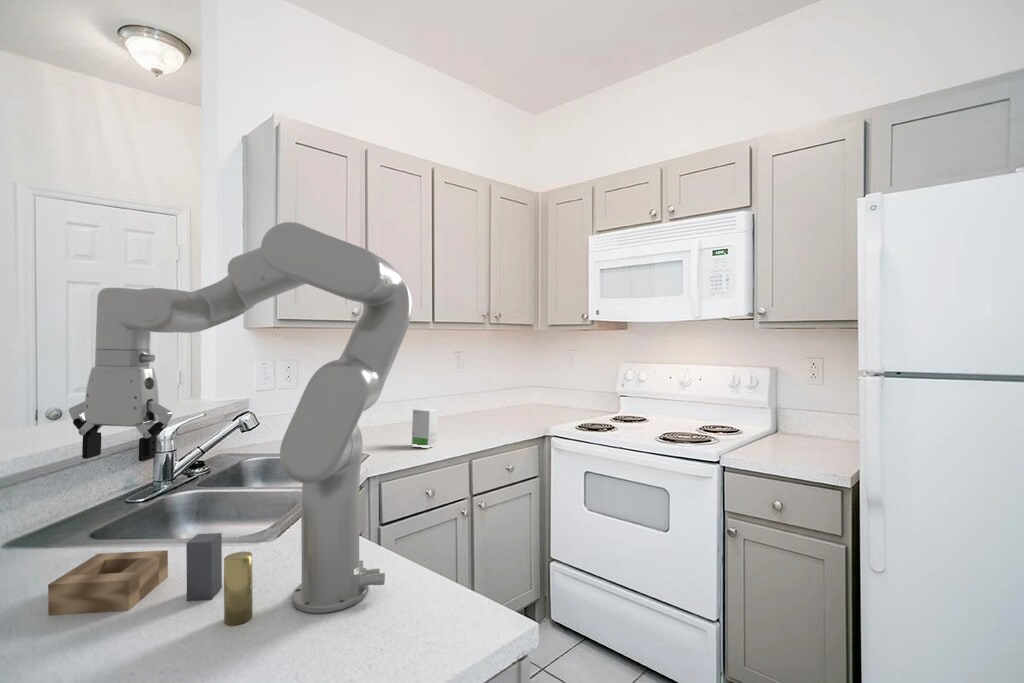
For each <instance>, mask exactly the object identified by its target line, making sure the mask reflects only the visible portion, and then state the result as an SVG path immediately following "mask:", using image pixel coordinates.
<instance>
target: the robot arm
mask: <svg viewBox="0 0 1024 683" xmlns="http://www.w3.org/2000/svg"><path fill="white" fill-rule="evenodd" d="M260 244H261V245H260V247H258V248H255V249H253V250H249V251H247V252H244V253H242V254H239V255H237V256H234V257H232V258H231V259H230V260H229V262H228V264H227V275H226V276H225V277H224V278H222V279H221V280H219V281H217V282H215V283H212V284H210V285H207V286H205V287H202V288H200V289H196V290H194V291H193V290H192V291H186V290H179V289H171V288H164V287H151V288H150V287H148V288H141V289H140V288H126V287H104V288H102V289H101V290H100V291H98V294H97V299H96V301H97V302H96V322H95V324H96V326H95V327H96V328H95V352H94V353H95V354H94V356H95V358H94V366H92V367H91V369H90V373H89V375H88V380H87V383H86V392H85V398H84V401H82V402H80V403H78V404H76V405H74V406H72V407H69V408H68V413H69V415H70V417H71V419H72V420H73V421H72V424H73V425H74V427H75V428H76V429H77V430H78V434H79V435H80V436H82V446H81V447H82V449H81V450H82V451H81V452H82V453H81V456H82V459H85V460H87V459H90V458H94V457H98V456H100V455H101V454H102V431H101V432H98V431H99V430H101V428H102V427H105V426H107V427H108V426H109V427H125V428H126V427H134V428H136V429H137V430H138V432H139V433H140V435H141V436H142V437H139V439H138V461H139V462H146V461H149V460H153V459H154V458H156V453H157V440H158V439H157V438H158V436H160V435H161V433H162V431H164V430H165V429H166V428H167V427H168V423H169V422H170V420H171V419H172V418H173V414H174V413H173V412H172V411H171V410H170V409H168V408H166V407H164V406H163V405H161V404H159V388H158V381H157V380H158V379H157V376H156V371H155V369H154V367H150V363H154V362H155V360H156V356H155V354H152V353H151V350H150V349H151V346H150V345H151V333H165V334H166V333H185V334H186V333H187V334H191V333H198V332H202V331H205V330H208V329H211V328H213V327H217V326H219V325H221V324H224V323H226V322H229V321H231V320H234V319H235V318H238V317H239V316H241V315H244V313H246V312H247V311H249V310H250V309H252V308H253V307H255V306H256V305H257V304H259V303H261V302H264V301H266V300H268V299H271V298H274V297H276V296H279V295H282V294H283V293H287V292H288V291H291V290H293V289H297V288H299V287H301V286H305V285H306V284H307V285H309V286H312V287H314V288H317V289H319V290H322V291H325V292H327V293H330V294H332V295H335V296H337V297H340V298H342V299H345V300H349V301H352V302H356V303H360V304H362V305H363V309H362V313H361V316H360V317H359V319H358V320H357V322H356V323H355V325H354V326H353V329H352V331H351V334H350V336H349V338H348V341H347V343H346V345H345V347H344V350H343V351H342V353H341V355H340V356H339V358H338V359H333V360H331V361H328V362H327V363H325V364H323V365H322V366H321V367H319V368H318V369H317V370H316V371H315V372H314V374H312V376H311V378H310V379H309V380H308V382H307V385H306V386H305V388H304V391H303V392H302V396H301V397H300V399H299V402H298V404H297V406H296V408H295V411H294V412H293V416H292V418H291V420H290V422H289V423H288V427H287V429H286V430H285V433H284V436H283V438H282V441H281V444H280V449H279V460H280V465H281V467H282V469H283V471H284V472H285V474H286V475H287V476H288V477H289V478H290V479H292V480H293V481H295V482H297V483H301V484H302V487H301V488H302V489H301V510H300V511H301V516H300V518H301V521H300V522H301V527H300V528H301V583H300V584H299V585H298V586H296V587H295V588H294V590H293V591H292V593H291V603H292V605H293V607H295V608H296V609H297V610H300V611H302V612H306V613H309V614H310V613H312V614H324V613H332V612H336V611H337V612H338V611H340V610H344V609H347V608H349V607H352V606H353V605H356V604H357V603H359V602H360V601H362V600H363V599H364V598H365V597H366V595H368V593H369V586H384V585H385V583H386V582H385V580H386V573H385V572H381V571H380V568H372V569H371V568H370V569H367V567H364V560H360V485H361V484H360V482H361V466H362V458H363V456H362V455H363V445H364V444H363V435H362V431H361V429H360V427H359V425H358V422H359V420H360V418H361V417H362V414H363V412H365V411H367V410H368V409H370V408H372V407H373V406H374V405H375V404H376V402H377V401H378V400H379V398H380V395H381V394H382V391H383V388H384V385H385V383H386V381H387V379H388V376H389V374H390V372H391V370H392V367H393V365H394V362H395V360H396V358H397V355H398V352H399V350H400V347H401V345H402V343H403V340H404V338H405V336H406V334H407V332H408V329H409V325H410V323H411V322H410V321H411V317H412V312H413V311H412V310H413V308H412V307H413V306H412V305H413V303H412V302H413V301H412V296H411V293H410V289H409V286H408V285H407V283H406V281H405V280H404V279H403V277H402V275H401V274H400V272H398V270H397V269H396V268H395V267H394V266H393V265H392V264H391V263H389V262H388V261H387V260H385V258H382V257H381V256H378V255H376V254H375V253H374V252H372V251H370V250H369V249H366V248H363V247H361V246H358V245H356V244H352V243H350V242H347V241H346V240H342V239H340V238H336V237H334V236H331V235H329V234H326V233H324V232H321V231H318V230H316V229H314V228H311V227H309V226H306V225H304V224H302V223H300V222H294V221H287V222H286V221H285V222H281V223H278V224H274V226H272V227H271V228H269V229H268V231H266V232H265V233H264V235H263V236H262V240H261V243H260Z"/></svg>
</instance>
